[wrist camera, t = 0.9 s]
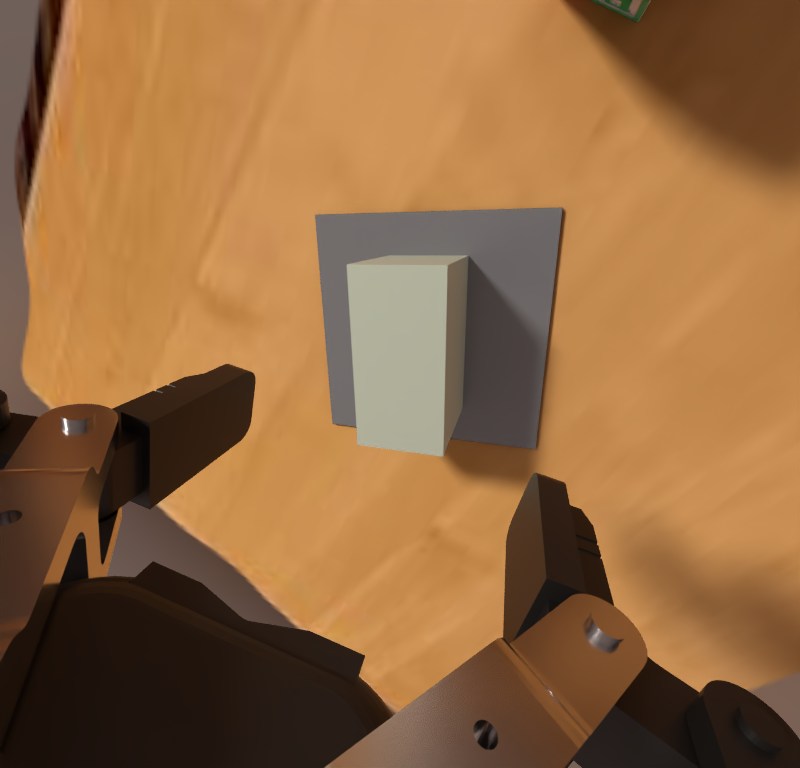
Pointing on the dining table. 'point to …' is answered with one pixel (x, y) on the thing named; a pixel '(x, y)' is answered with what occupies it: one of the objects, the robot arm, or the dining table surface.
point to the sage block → (408, 349)
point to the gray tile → (485, 314)
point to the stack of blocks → (626, 7)
